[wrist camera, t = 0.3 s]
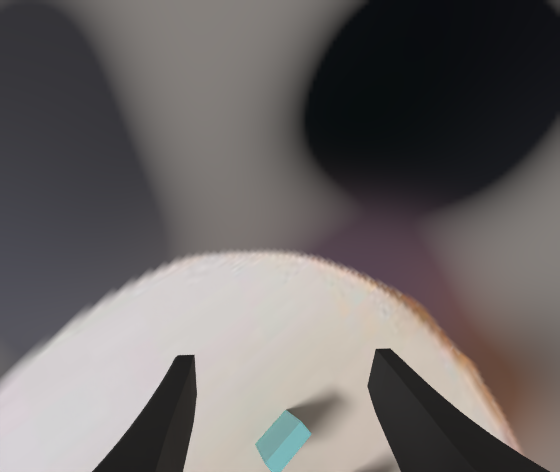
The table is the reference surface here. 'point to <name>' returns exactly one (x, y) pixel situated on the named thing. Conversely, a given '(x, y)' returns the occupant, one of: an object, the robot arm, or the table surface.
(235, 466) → the table surface
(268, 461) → the teal domino
